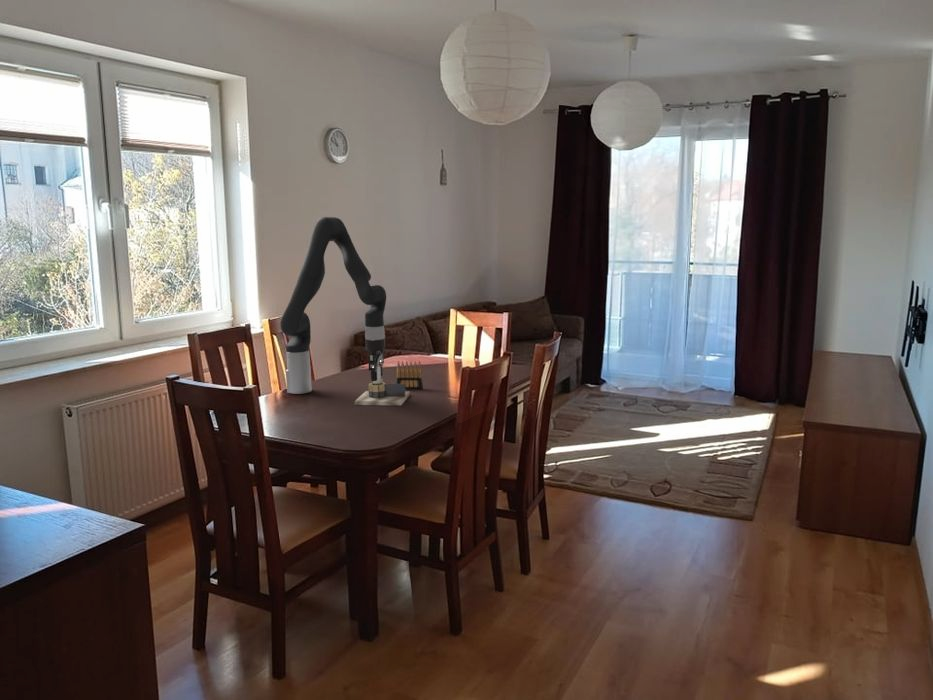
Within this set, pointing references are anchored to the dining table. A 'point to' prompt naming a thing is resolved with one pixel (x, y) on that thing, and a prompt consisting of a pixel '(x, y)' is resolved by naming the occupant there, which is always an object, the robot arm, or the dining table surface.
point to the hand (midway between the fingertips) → (377, 378)
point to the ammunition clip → (410, 376)
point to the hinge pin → (378, 377)
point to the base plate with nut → (383, 395)
